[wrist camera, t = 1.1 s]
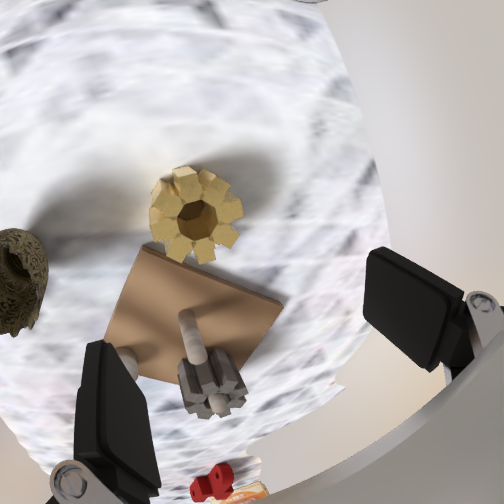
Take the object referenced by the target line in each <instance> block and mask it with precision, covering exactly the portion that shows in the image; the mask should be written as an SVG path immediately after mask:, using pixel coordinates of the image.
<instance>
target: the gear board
mask: <svg viewBox="0 0 504 504" xmlns="http://www.w3.org/2000/svg"><path fill="white" fill-rule="evenodd" d="M283 308H284V307H283V306H282V304H281V303H280V302H279V301H276V300H274V299H271V298H269V297H266V296H263V295H261V294H258V293H256V292H253V291H251V290H248V289H246V288H243V287H241V286H238V285H236V284H233V283H231V282H228V281H226V280H223V279H221V278H218V277H216V276H213V275H211V274H208V273H206V272H204V271H201V270H199V269H196V268H194V267H192V266H189V265H187V264H184V263H179V262H177V261H175V260H173V259H171V258H169V257H167V256H166V255H163V254H161V253H159V252H156V251H154V250H152V249H150V248H147V247H145V246H143V245H142V246H141V249H140V251H139V253H138V255H137V257H136V260H135V262H134V264H133V266H132V269H131V271H130V273H129V275H128V278H127V280H126V282H125V285H124V287H123V290H122V292H121V294H120V297H119V299H118V302H117V304H116V307H115V309H114V312H113V315H112V317H111V320H110V323H109V325H108V328H107V331H106V333H105V336H104V339H103V340H104V341H106V343H109V342H110V343H111V344H112V345H113V347H114V348H115V350H116V352H117V353H118V355H119V357H120V358H121V360H122V362H123V363H124V365H125V367H126V368H127V370H128V371H129V373H130V375H131V376H132V378H133V379H134V381H136V380H137V378H138V375H140V376H144V377H148V378H152V379H156V380H160V381H164V382H169V383H173V384H178V385H180V389H181V393H182V397H183V401H184V405H185V409H186V410H187V411H188V413H189V414H192V413H197V416H198V418H200V419H210V417H211V416H212V415H214V414H215V413H216V414H217V415H219V417H220V418H222V417H225V416H227V415H230V414H231V412H230V408H241V407H242V406H243V405H244V403H245V402H246V399H245V397H244V395H246V394H249V393H248V391H247V388H246V386H245V384H244V382H243V380H242V378H241V375H240V373H239V370H240V369H241V368H242V366H243V365H244V363H245V362H246V361H247V359H248V358H249V357H250V355H251V354H252V352H253V351H254V350H255V348H256V347H257V345H258V344H259V343H260V341H261V340H262V338H263V337H264V336H265V334H266V333H267V331H268V330H269V328H270V327H271V325H272V324H273V323H274V321H275V320H276V318H277V317H278V315H279V314H280V312H281V311H282V309H283Z"/></svg>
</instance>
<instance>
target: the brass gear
mask: <svg viewBox="0 0 504 504" xmlns="http://www.w3.org/2000/svg"><path fill="white" fill-rule="evenodd" d="M172 171H173V176H174V180H173V184H174V185H172V184H170V183H169V184H167V183H165V182H163V181H162V180H160V179H159V180H158V182H157V184H156V185H155V187H154V189H153V190H152V192H151V199H152V207H151V208H149V225H150V229H151V232H152V236H153V239H154V242H158V241H161V240H163V241H164V246H165V252H166V256H167V257H169V258H171V259H173V260H175V261H177V262H179V263H182V262H183V261H184V259H185V257H186V256H187V254H190V253H191V251H192V250H193V252H194V255H195V256H196V258H197V261H198V263H199V265H200V264H204V263H207V262H210V261H214V260H216V257H215V253H214V249H215V244H214V243H216V244H218V245H220V244H222V245H224V246H226V247H228V248H229V249H231V247H232V246H233V244H234V243H235V241H236V240H237V238H238V237H239V235H240V234H239V233H238V232H237V231H236V230H235V229H234V228H233V226H232V225H231V224H230V223H231V222H232V220H235V219H239V218H242V217H244V216H243V210H242V204H241V200H240V199H239V198H237V197H236V196H234V195H233V194H231V193H230V192H228V189H229V188H230V186H231V185H230V184H228V183H227V182H225V181H224V180H222V179H221V178H219V177H218V176H216V175H214V174H212V173H211V172H209V171H207V170H205V169H204V168H202V170H201V171H200V173H199V174H198V176H197V172H196V171H194V170H193V169H191V168H190V167H188V166H184V167H180V168H176V169H172ZM198 200H203V201H204V205H205V207H204V209H203V210H202V212H201V214H200V215H199V217H198V218H196V219H192V220H188V221H183V220H182V219H180V218H178V217H177V216H178V215H179V213H180V211H181V210H182V208H183V206H184V205H185V204H187V203H190V202H194V201H198Z"/></svg>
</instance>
